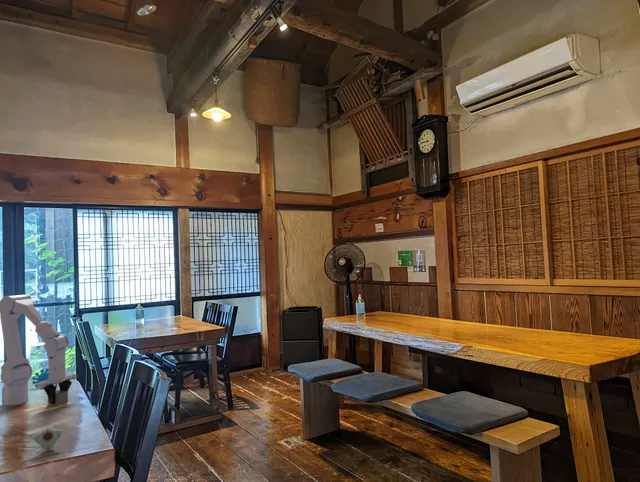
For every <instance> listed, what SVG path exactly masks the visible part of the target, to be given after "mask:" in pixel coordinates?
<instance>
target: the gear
mask: <svg viewBox="0 0 640 482" xmlns="http://www.w3.org/2000/svg"><path fill="white" fill-rule="evenodd" d="M39 372H40V374H39ZM39 372H35V373H34V374H35V376H33V377H31V380H33V381H32V382H31V383H32V385H35V386H34V387H35V388H36V389H38V388H37V383H39V382H42V381H45V380H48V379H49V368H46V369H45V371H44V369H40V371H39ZM41 389H42V388H41ZM41 389H40V390H41Z"/></svg>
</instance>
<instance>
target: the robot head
mask: <svg viewBox="0 0 640 482" xmlns="http://www.w3.org/2000/svg"><path fill="white" fill-rule="evenodd" d="M63 432H64V429H57V428H53V427H45V428H44V429H42V430H41V431H40V432H37V433H36V434H34V435H32V436H31V437H32V440H33V441H34V443H35V442H36V444H37V445H39V446H40V448H41V449H42V450H43V451H50V450H52V449H54V447H55V445H56V443H57V441H58V440H59V439H60V437H61V436H62V434H63Z"/></svg>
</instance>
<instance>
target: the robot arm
mask: <svg viewBox="0 0 640 482" xmlns="http://www.w3.org/2000/svg"><path fill="white" fill-rule="evenodd" d="M34 302H35V300H34V299H33V298H32V296H31V295H29V294H27V293H25V294H24V293H23V294H18V295H17V294H16V295H5V296H3V297H2V298H1V299H0V324H1V330H2V338H3V344H4V349H5V350H4V351H5V357H6V361H5V362H4V363H3V364H2V365H1V366H0V369H1V370H0V381H1V383H3V387H2V389H1V404H0V408H1V407H5V406H17V405H22V404H25V403H27V402H29V388H28V387H29V381H30V378H32V376H33V368H32V366H31V363H30V360H29V359H27V358H26V357H24V354H23V353H24V352H23V349H22V342H21V336H20V330H19V329H20V328H19V323H18V318H19V317H20V316H21V315H24V316H25V318H27V319H28V321H30V322H31V324H33V325H34V326H35V333H36V334H37V335H38V337H40V339H41V340H42V341H43V343H44V345H43V348H44V350H45V352H46V356H47V357H48V358H47V359H48V369H49V379H48V380H45V381H42V382H39V383H36V384H37V388H36V389H40V390H41V388H43V390H44V393H46V395H47V399H48V398H49V401H50V404H55V393H56V390H57V388H58V387H59V390H60V391H68V392H69V390H70V388H71V386H72V380H77V374H76V373H71V374H66V371H67V370H66V349H67V348H68V347H69V339H68V337H67V335H65V334H61V333H59V332H58V330H57V329H56V328H55V327H54V326H53V324H52V322H50V321H45V320H44V319H43V317H42V315H41V314H40V313H39V311H38V309H37V308H36V307H35V305H34ZM56 385H58V387H57V386H56Z"/></svg>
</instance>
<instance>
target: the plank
mask: <svg viewBox="0 0 640 482" xmlns="http://www.w3.org/2000/svg"><path fill="white" fill-rule="evenodd" d="M71 404H72V402H69V401H68V403H66V404H63V405H59V406H58V405H52V404H48V402H47V403H44V404H40V405H38V406H34V407H31V408H27V409H23V412H28V413H32V414H37V415H39V414H42V413H45V412H49V411H52V410H54V409H58V408H61V407H64V406H68V405H71Z"/></svg>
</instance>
